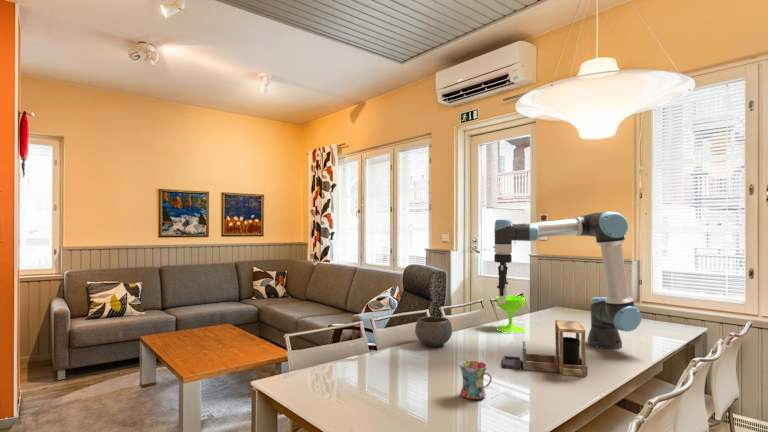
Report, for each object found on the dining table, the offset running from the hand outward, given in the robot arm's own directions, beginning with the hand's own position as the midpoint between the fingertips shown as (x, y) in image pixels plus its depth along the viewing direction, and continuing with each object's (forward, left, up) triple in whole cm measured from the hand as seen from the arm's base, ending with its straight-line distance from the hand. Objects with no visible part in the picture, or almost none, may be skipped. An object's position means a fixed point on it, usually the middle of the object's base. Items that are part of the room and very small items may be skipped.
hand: (502, 300), depth 193 cm
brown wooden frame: (-26, +12, -24) cm, 38 cm away
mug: (+8, +52, -24) cm, 58 cm away
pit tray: (-4, +12, -24) cm, 27 cm away
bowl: (+33, -8, -24) cm, 41 cm away
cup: (-26, +12, -24) cm, 38 cm away
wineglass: (-3, -50, -24) cm, 55 cm away
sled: (-20, +12, -24) cm, 34 cm away
